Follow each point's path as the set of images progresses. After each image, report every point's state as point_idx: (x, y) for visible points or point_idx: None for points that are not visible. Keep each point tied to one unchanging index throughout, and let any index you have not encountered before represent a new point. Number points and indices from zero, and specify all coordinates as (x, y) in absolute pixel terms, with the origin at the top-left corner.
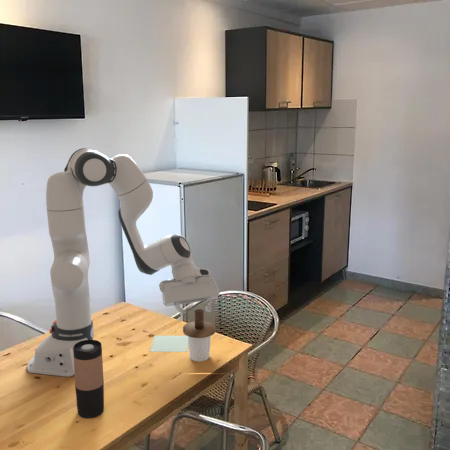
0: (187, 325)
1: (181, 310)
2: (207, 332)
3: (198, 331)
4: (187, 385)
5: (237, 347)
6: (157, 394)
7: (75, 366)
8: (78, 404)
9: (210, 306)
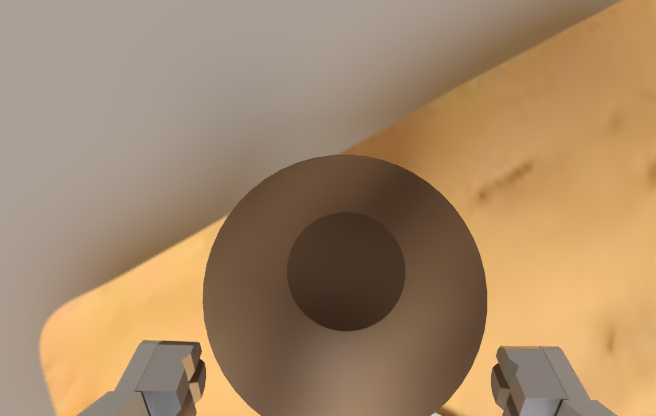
0: (425, 379)
1: (576, 388)
2: (319, 172)
3: (378, 218)
4: (482, 89)
5: (98, 326)
6: (620, 75)
7: None
8: None
9: (132, 368)
